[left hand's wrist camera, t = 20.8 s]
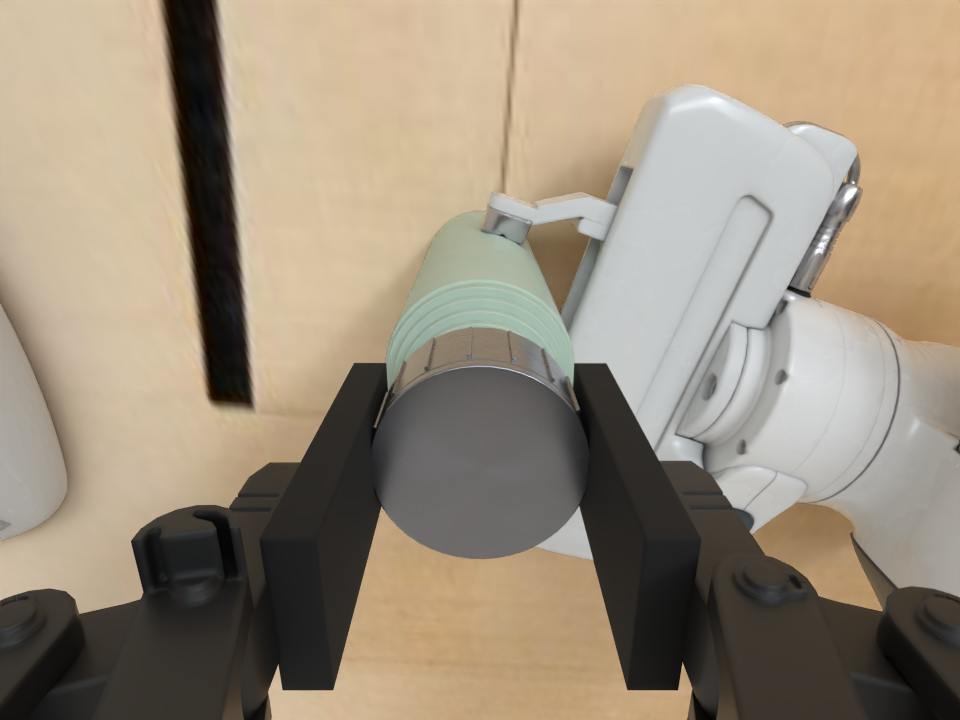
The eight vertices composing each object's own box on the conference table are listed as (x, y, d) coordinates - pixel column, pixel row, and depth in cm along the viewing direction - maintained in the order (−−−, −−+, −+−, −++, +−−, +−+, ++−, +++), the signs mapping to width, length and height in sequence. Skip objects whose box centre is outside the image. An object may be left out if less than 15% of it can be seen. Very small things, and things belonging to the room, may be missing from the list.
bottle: (530, 316, 32) (594, 556, 14) (427, 314, 32) (360, 551, 14) (536, 212, 30) (619, 333, 12) (427, 209, 30) (347, 327, 12)
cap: (467, 527, 16) (466, 594, 13) (346, 403, 14) (320, 454, 12) (612, 427, 15) (637, 482, 12) (494, 285, 13) (497, 317, 11)
